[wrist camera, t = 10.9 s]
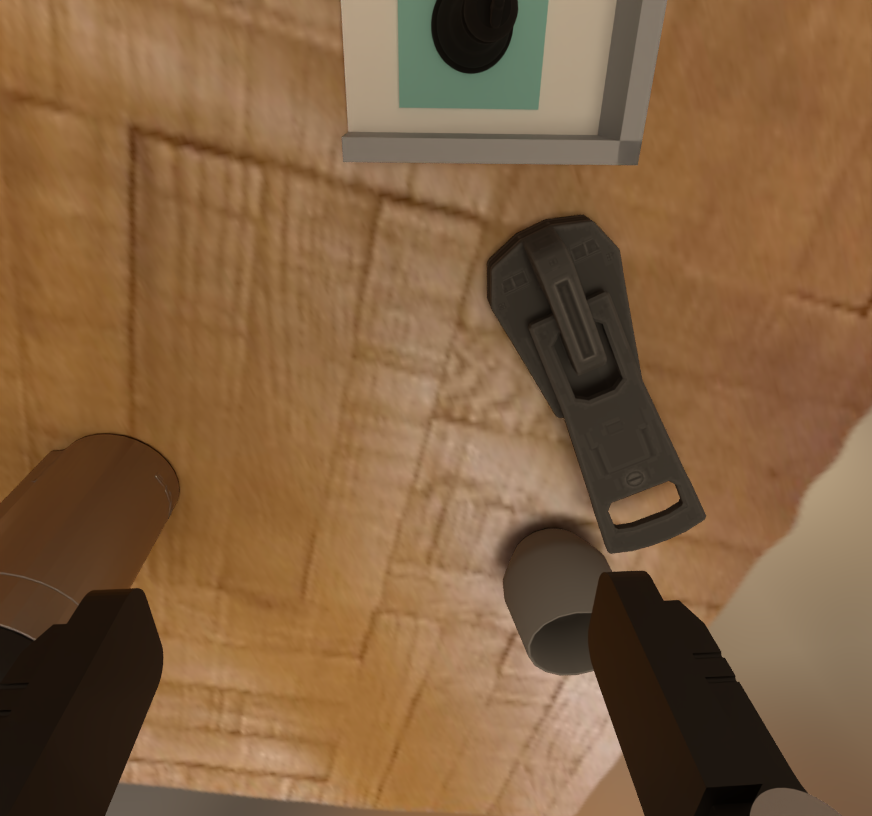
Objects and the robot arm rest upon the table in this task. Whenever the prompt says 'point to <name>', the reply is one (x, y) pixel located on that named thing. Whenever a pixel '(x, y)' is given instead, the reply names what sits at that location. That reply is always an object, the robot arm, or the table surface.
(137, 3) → the table surface
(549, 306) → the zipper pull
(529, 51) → the pad
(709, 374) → the table surface
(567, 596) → the cup
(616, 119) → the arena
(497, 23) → the chess piece
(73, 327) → the table surface
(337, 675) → the table surface
